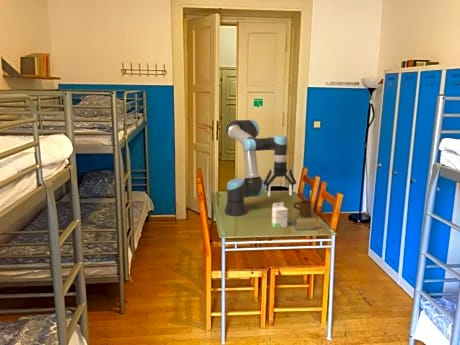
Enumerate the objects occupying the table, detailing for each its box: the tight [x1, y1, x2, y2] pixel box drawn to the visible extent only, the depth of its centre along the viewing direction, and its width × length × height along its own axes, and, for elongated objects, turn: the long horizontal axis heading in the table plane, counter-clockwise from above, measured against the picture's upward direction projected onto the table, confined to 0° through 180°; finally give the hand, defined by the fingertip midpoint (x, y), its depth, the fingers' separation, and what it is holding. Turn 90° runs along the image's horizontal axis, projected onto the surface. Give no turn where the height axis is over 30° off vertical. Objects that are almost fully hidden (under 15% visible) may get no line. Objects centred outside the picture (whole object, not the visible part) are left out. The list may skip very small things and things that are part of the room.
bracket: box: [288, 217, 317, 231], centre depth 253 cm, size 12×18×7 cm, turn 9°
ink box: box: [271, 202, 289, 229], centre depth 250 cm, size 9×5×15 cm, turn 114°
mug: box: [292, 200, 312, 218], centre depth 275 cm, size 12×8×9 cm, turn 84°
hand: (279, 195), depth 248 cm, fingers open, 13 cm apart
